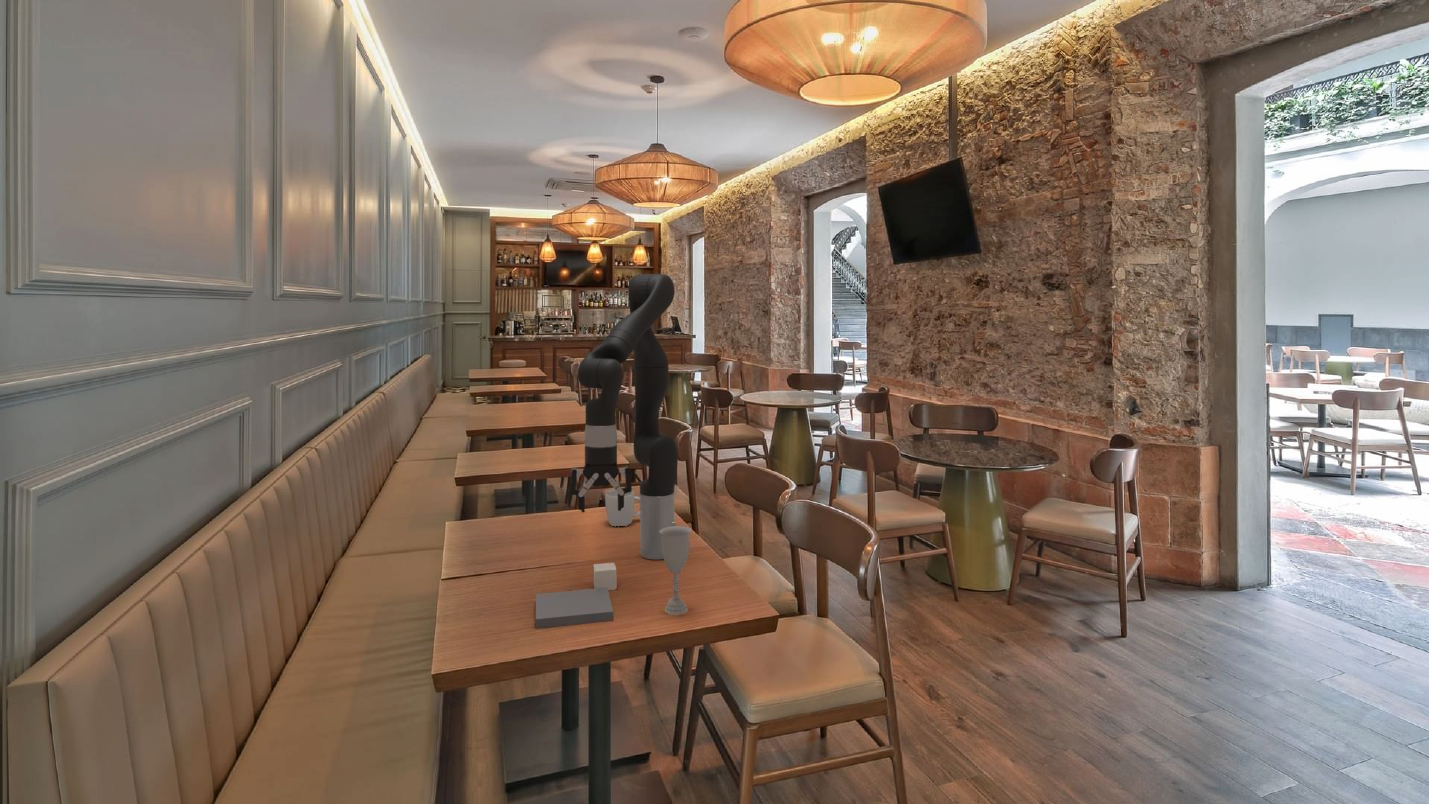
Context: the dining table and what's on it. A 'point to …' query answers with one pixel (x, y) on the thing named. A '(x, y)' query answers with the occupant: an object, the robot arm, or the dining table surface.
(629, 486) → the robot arm
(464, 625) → the dining table surface
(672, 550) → the chalice
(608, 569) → the cube
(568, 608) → the slate board
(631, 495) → the mug
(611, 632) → the dining table surface
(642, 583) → the dining table surface
